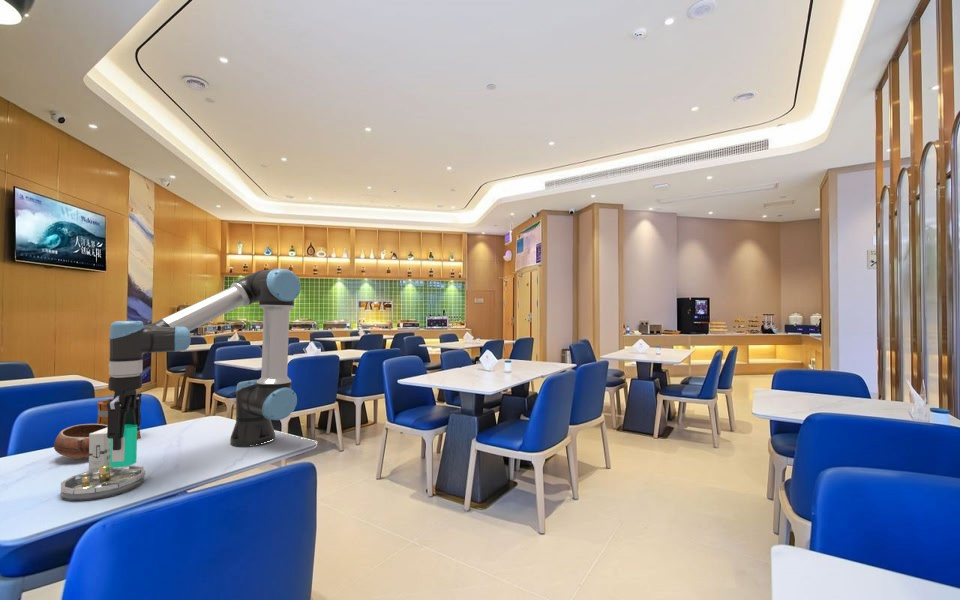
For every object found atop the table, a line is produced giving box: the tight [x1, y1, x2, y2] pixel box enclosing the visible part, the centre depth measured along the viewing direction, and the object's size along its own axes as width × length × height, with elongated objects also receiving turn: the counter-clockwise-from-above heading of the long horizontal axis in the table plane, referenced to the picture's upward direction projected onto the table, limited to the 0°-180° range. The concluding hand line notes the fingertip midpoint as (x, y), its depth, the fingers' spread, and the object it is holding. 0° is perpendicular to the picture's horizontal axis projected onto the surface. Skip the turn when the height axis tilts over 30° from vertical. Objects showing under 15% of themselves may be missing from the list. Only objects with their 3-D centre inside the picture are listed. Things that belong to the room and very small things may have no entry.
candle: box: [110, 424, 138, 467], centre depth 128 cm, size 6×6×12 cm
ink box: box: [88, 428, 111, 471], centre depth 144 cm, size 9×5×12 cm, turn 5°
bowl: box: [53, 423, 108, 460], centre depth 153 cm, size 16×16×10 cm
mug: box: [96, 398, 142, 441], centre depth 174 cm, size 20×14×15 cm
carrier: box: [60, 464, 146, 502], centre depth 127 cm, size 18×18×6 cm
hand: (123, 457), depth 128 cm, fingers closed on candle, 5 cm apart
